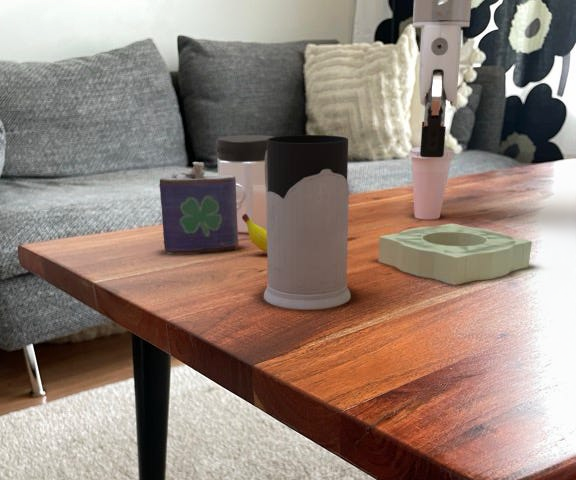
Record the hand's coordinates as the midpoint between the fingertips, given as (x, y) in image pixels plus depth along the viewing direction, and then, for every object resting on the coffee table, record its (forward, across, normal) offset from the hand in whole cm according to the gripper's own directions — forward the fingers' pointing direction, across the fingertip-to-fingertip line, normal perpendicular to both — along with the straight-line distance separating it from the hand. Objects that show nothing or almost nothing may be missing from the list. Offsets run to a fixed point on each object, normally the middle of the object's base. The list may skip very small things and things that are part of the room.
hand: (431, 152), depth 103 cm
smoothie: (+9, 0, 0) cm, 9 cm away
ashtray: (+9, -27, -3) cm, 29 cm away
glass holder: (+9, -39, +13) cm, 42 cm away
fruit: (+9, -26, +17) cm, 32 cm away
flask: (+9, -25, +28) cm, 38 cm away
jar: (+9, -11, +25) cm, 28 cm away
